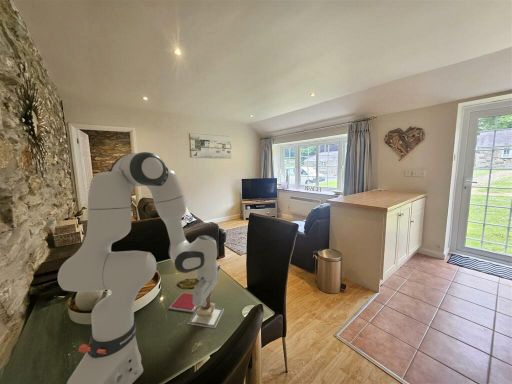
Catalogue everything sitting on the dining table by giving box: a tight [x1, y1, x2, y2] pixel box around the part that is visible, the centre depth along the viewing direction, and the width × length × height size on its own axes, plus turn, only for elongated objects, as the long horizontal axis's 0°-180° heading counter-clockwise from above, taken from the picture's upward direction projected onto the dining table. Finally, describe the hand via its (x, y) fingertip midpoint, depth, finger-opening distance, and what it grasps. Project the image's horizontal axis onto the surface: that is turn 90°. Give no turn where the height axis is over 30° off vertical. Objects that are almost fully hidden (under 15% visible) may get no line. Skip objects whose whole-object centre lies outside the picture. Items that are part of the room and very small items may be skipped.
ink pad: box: [168, 292, 199, 313], centre depth 104 cm, size 12×12×1 cm
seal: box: [176, 277, 199, 290], centre depth 120 cm, size 9×5×15 cm
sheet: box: [187, 306, 225, 329], centre depth 95 cm, size 12×12×1 cm
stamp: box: [196, 294, 216, 317], centre depth 94 cm, size 6×6×9 cm
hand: (206, 302), depth 94 cm, fingers closed on stamp, 3 cm apart
